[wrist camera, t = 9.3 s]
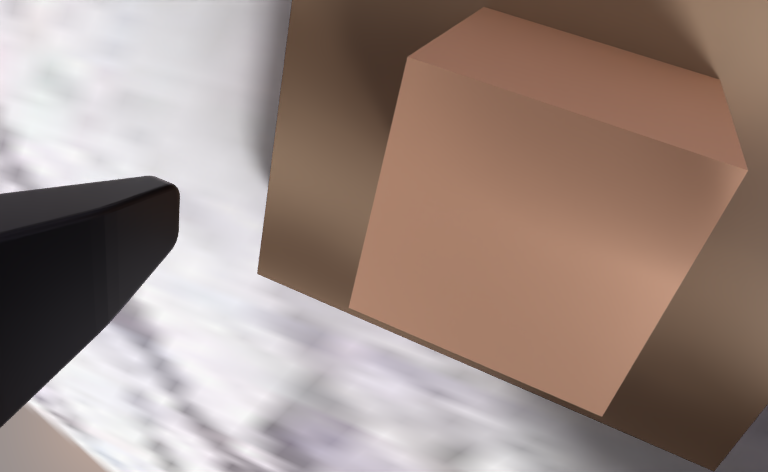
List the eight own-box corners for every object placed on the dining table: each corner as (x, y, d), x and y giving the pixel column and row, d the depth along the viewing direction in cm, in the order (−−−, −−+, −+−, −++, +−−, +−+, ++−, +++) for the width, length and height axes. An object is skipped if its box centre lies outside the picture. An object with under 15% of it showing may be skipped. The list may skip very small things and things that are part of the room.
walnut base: (707, 397, 19) (713, 471, 17) (302, 231, 22) (257, 273, 20) (1071, -115, 12) (1180, -116, 9) (386, -268, 15) (330, -300, 12)
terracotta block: (618, 275, 15) (601, 416, 11) (427, 203, 16) (348, 307, 12) (719, 79, 13) (748, 170, 8) (484, 6, 14) (407, 56, 10)
